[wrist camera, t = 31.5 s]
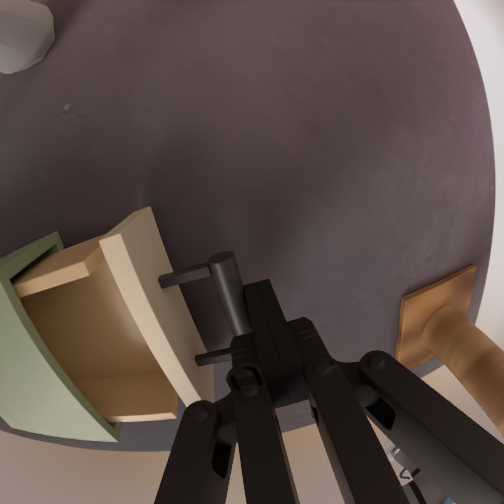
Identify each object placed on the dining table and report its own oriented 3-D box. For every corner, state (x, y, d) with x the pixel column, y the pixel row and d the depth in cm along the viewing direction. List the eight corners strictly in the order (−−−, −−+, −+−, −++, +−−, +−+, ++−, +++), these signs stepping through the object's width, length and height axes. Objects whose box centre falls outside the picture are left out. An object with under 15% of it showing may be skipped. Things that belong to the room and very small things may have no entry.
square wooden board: (456, 337, 27) (460, 340, 26) (391, 372, 26) (394, 377, 26) (472, 263, 23) (476, 266, 22) (400, 297, 22) (405, 301, 21)
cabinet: (58, 230, 16) (-4, 272, 9) (134, 376, 22) (118, 442, 15) (-30, 275, 16) (-72, 310, 9) (33, 383, 21) (11, 427, 14)
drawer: (217, 186, 16) (217, 202, 11) (264, 352, 21) (278, 407, 16) (7, 263, 15) (-33, 295, 10) (78, 383, 20) (61, 426, 15)
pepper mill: (449, 332, 25) (539, 430, 8) (419, 349, 24) (508, 465, 7) (457, 298, 23) (565, 398, 6) (425, 315, 23) (538, 438, 6)
